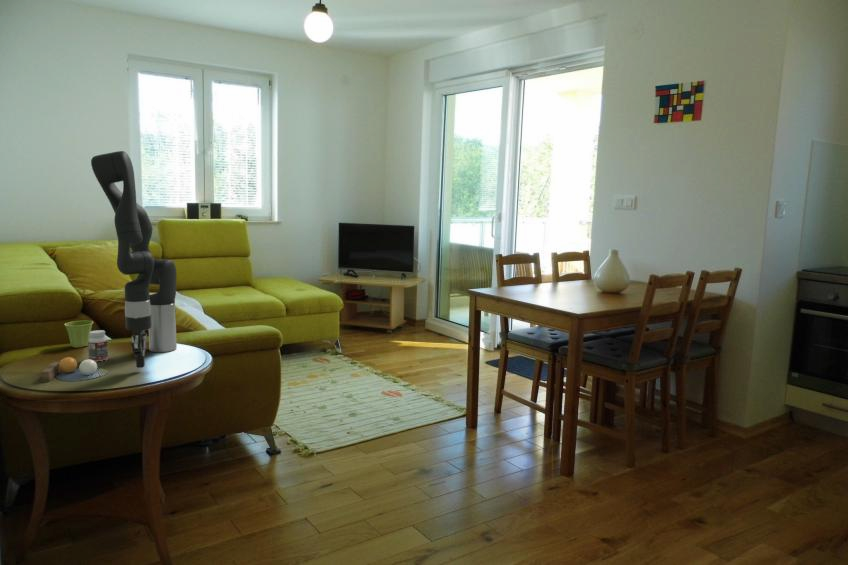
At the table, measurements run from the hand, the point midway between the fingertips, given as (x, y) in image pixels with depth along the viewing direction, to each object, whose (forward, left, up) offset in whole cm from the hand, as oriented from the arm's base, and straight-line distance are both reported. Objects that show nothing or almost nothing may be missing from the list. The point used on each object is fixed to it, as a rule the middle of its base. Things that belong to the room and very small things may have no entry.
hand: (140, 366), depth 198 cm
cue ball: (+1, -15, +1) cm, 15 cm away
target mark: (0, -17, -2) cm, 17 cm away
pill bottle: (-17, -16, -2) cm, 23 cm away
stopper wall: (0, -25, -2) cm, 26 cm away
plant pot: (-39, -27, -2) cm, 47 cm away
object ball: (-3, -21, +1) cm, 22 cm away
